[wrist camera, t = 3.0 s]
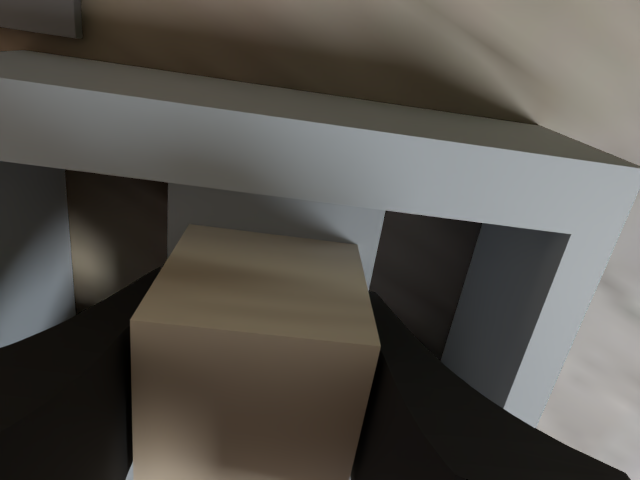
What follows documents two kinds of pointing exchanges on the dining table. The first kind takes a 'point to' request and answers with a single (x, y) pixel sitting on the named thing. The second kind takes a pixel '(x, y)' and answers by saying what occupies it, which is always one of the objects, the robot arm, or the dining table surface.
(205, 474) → the block
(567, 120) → the dining table surface
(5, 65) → the slot box
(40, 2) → the mat
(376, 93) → the dining table surface
